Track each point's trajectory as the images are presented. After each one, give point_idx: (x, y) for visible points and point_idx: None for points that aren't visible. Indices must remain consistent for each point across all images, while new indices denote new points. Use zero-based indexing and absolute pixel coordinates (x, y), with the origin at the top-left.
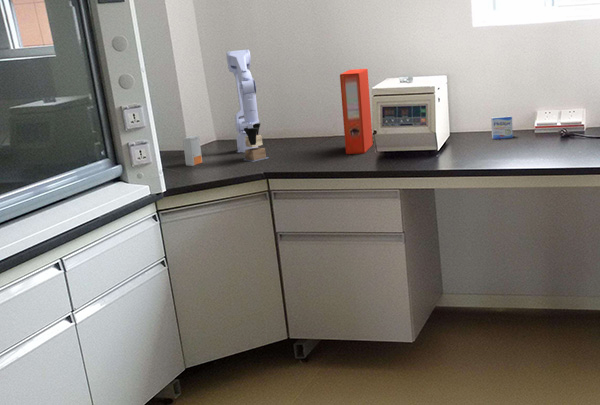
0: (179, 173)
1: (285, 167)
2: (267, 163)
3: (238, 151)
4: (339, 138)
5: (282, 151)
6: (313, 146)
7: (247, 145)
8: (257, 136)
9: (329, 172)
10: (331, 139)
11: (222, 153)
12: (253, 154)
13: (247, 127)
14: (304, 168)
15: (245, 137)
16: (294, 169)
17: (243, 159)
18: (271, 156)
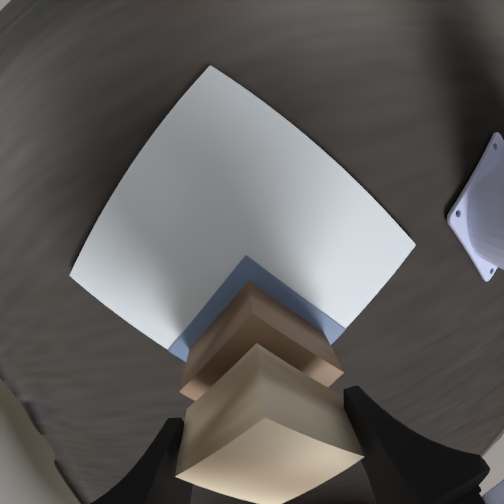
0: (28, 7)
1: (99, 455)
2: (161, 408)
3: (501, 144)
4: (493, 432)
5: (437, 377)
6: (447, 433)
7: (235, 370)
8: (240, 496)
9: (80, 498)
10: (497, 421)
11: (489, 60)
12: (183, 376)
13: (413, 491)
14: (99, 482)
15: (251, 421)
16: (83, 467)
17: (251, 259)
18: (345, 380)
